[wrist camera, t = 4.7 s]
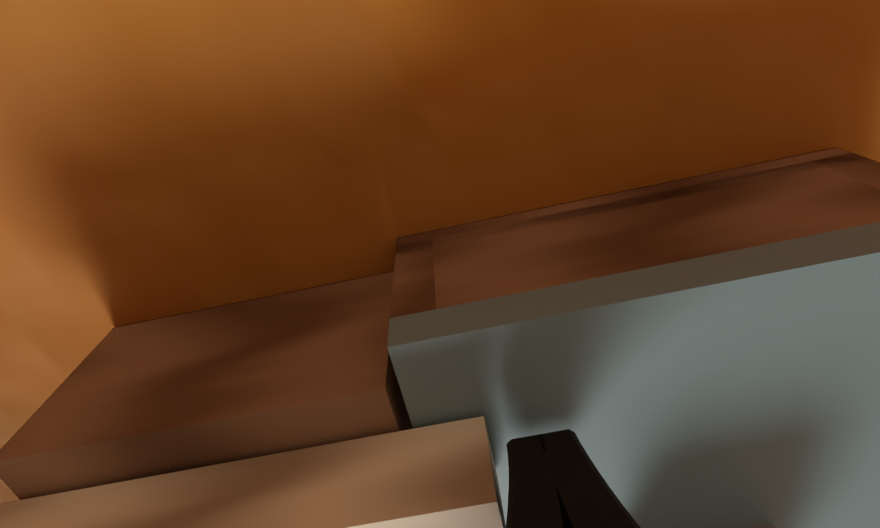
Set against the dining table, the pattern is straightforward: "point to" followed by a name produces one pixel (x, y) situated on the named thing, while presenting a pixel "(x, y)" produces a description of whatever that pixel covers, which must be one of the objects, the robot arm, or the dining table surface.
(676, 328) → the lid
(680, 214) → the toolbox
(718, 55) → the dining table surface
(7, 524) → the beige rectangular bar
